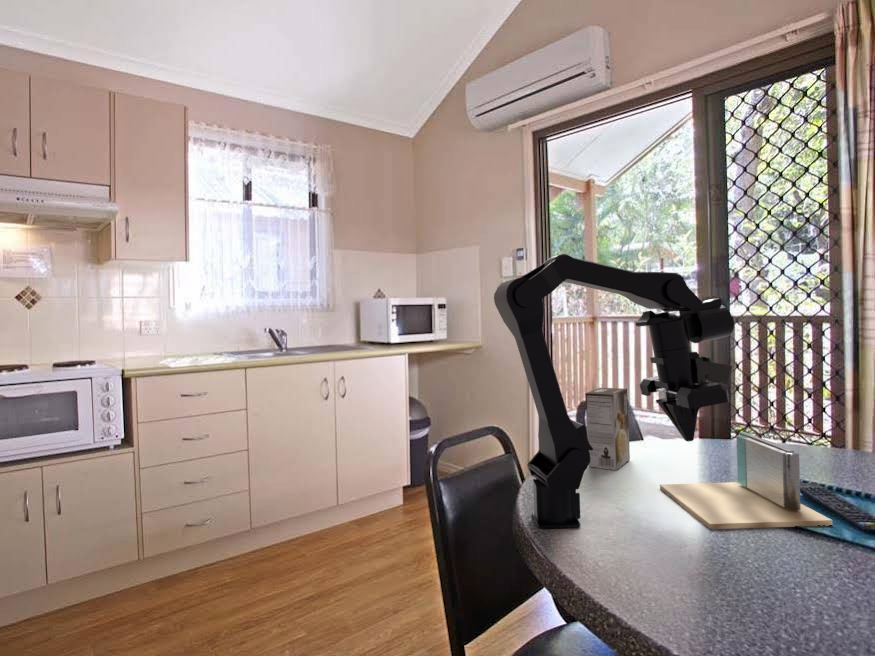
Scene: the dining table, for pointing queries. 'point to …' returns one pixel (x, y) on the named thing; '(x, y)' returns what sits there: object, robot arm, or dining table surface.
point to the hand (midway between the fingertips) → (689, 440)
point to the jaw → (769, 472)
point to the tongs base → (739, 504)
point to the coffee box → (608, 427)
